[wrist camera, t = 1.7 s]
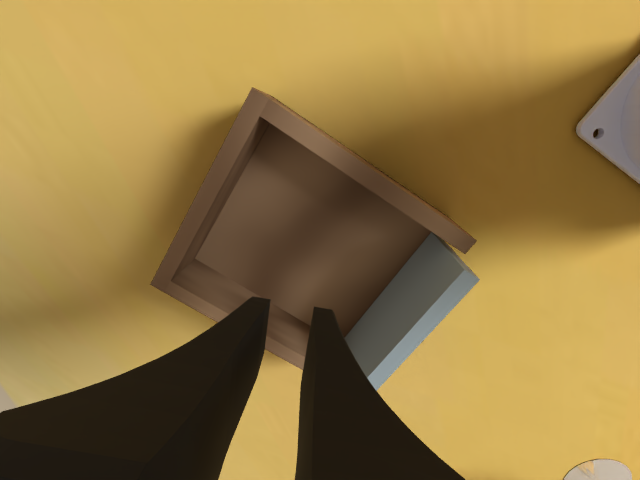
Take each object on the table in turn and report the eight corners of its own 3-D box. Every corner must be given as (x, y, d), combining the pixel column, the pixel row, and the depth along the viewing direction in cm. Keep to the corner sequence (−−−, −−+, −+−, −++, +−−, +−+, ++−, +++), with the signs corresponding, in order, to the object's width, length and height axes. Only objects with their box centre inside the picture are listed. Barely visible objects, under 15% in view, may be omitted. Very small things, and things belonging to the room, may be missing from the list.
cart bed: (449, 217, 19) (476, 240, 15) (342, 347, 22) (342, 392, 18) (271, 95, 17) (252, 87, 13) (184, 255, 21) (150, 284, 17)
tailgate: (442, 239, 18) (479, 279, 13) (351, 347, 21) (355, 412, 16) (431, 231, 18) (464, 269, 13) (341, 341, 21) (342, 405, 16)
